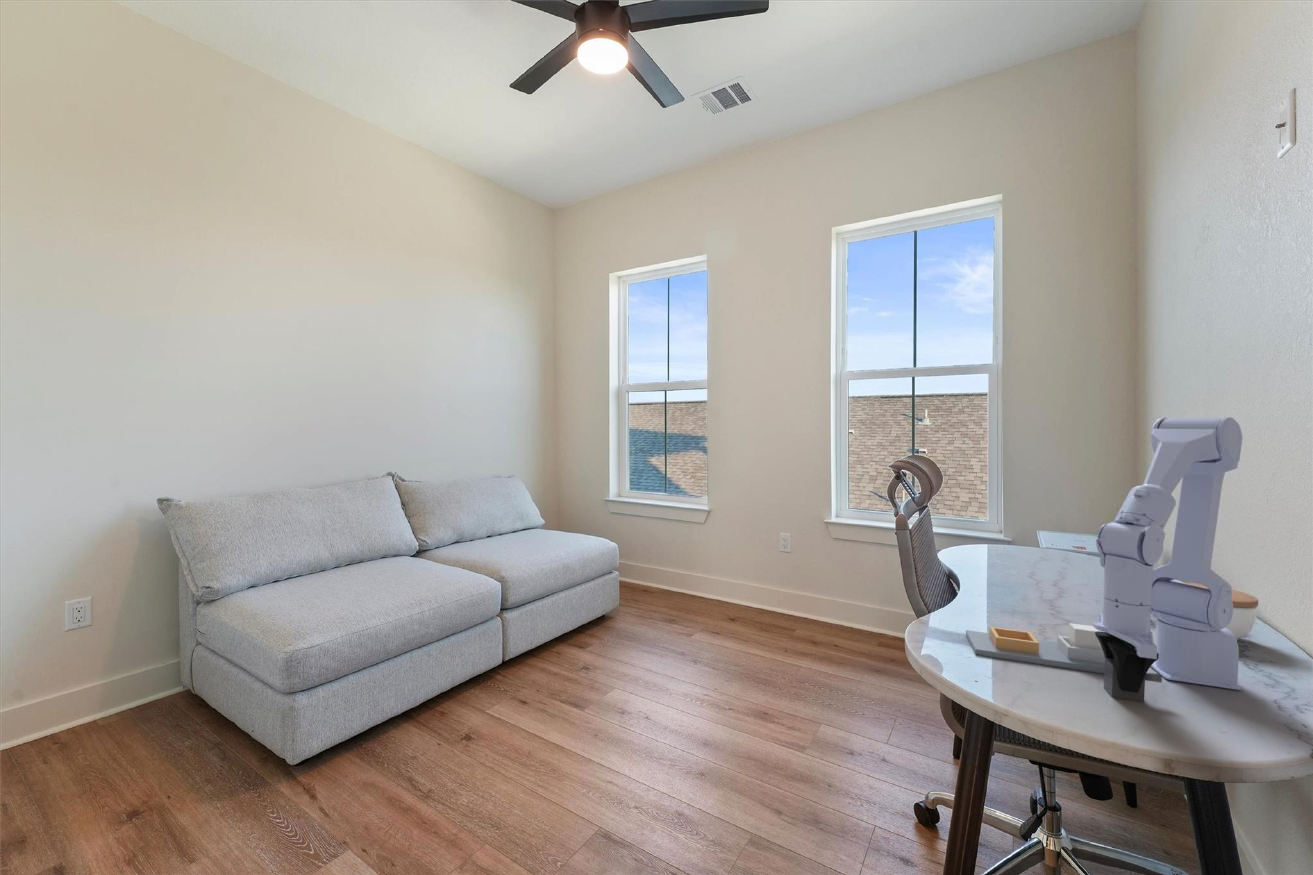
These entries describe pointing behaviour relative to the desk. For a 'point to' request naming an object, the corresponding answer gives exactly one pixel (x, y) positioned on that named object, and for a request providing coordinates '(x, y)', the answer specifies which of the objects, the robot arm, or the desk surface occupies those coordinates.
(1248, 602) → the white lidded bowl
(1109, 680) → the dark gray plug
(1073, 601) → the desk surface
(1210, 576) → the robot arm
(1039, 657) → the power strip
